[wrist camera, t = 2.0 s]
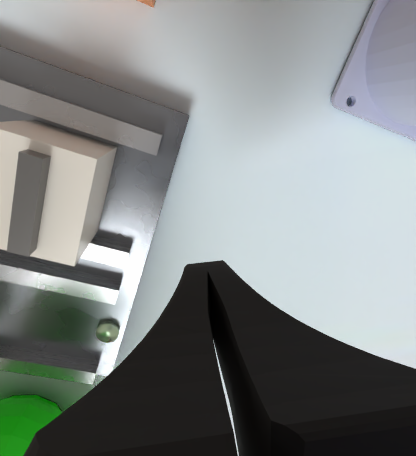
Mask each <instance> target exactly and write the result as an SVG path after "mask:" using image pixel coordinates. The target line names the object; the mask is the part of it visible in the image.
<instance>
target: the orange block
mask: <svg viewBox="0 0 416 456" xmlns="http://www.w3.org/2000/svg"><path fill="white" fill-rule="evenodd" d="M137 1H140V2H142V3H144V4H146V5H149V6H151V7H153V8H154V4H155V0H137Z"/></svg>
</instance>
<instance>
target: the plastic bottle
mask: <svg viewBox="0 0 416 456" xmlns="http://www.w3.org/2000/svg"><path fill="white" fill-rule="evenodd" d="M61 413H62V412H61V410H60V409H59V407H58V406H57V404H56V403H54V402H51V401H49V400H47V399H44V398H42V397H40V396H38V395H13V396H11V397H9V398H5V399H1V400H0V456H23V455H24V453H25V452H26V450H27V448H28V446H29V445H30V443H31V441H32V439H33V437H34V435H35V433H36V432H37V431H39V430H40V429H41V428H43V427H44V426H46V425H47V424H48V423H50V422H51V421H52V420H54V419H55V418H56V417H57V416H59V415H60V414H61Z"/></svg>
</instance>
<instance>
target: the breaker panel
mask: <svg viewBox="0 0 416 456" xmlns="http://www.w3.org/2000/svg"><path fill="white" fill-rule="evenodd" d="M188 118H189V115H186V114H184V113H181V112H178V111H175V110H173V109H170V108H167V107H164V106H162V105H159V104H156V103H153V102H151V101H148V100H145V99H143V98H140V97H137V96H134V95H132V94H129V93H126V92H123V91H121V90H118V89H115V88H112V87H110V86H107V85H104V84H102V83H99V82H96V81H93V80H91V79H88V78H85V77H82V76H80V75H77V74H74V73H71V72H69V71H66V70H63V69H61V68H58V67H55V66H52V65H50V64H47V63H44V62H41V61H39V60H36V59H33V58H30V57H28V56H25V55H22V54H20V53H17V52H14V51H11V50H9V49H6V48H3V47H0V122H6V121H21V120H35V121H38V122H41V123H44V124H48V125H51V126H54V127H57V128H60V129H63V130H66V131H69V132H72V133H75V134H78V135H81V136H84V137H88V138H91V139H94V140H97V141H100V142H103V143H106V144H109V145H112V146H115V147H117V149H116V154H115V158H114V162H113V167H112V171H111V175H110V180H109V184H108V188H107V193H106V197H105V201H104V206H103V210H102V214H101V219H100V223H99V227H98V231H97V233H96V234H95V236H94V237H93V239H92V240H91V242H90V244H89V245H88V247H87V248H86V250H85V251H84V253H83V254H82V256H81V257H80V259H79V260H78V262H77V263H76V265H75V266H70V265H66V264H62V263H58V262H53V261H49V260H45V259H40V258H36V257H32V256H29V257H27V256H23V255H19V254H15V253H10V252H7V251H6V250H2V249H0V370H3V371H9V372H16V373H22V374H29V375H35V376H41V377H48V378H54V379H61V380H67V381H73V382H80V383H86V384H93V382H94V379H95V376H96V375H101V376H108V375H109V374H110V373H111V372H112V370H113V367H114V364H115V360H116V357H117V354H118V351H119V347H120V344H121V341H122V337H123V334H124V331H125V327H126V324H127V321H128V317H129V314H130V311H131V307H132V304H133V301H134V297H135V294H136V291H137V288H138V284H139V281H140V278H141V274H142V271H143V268H144V264H145V261H146V258H147V254H148V251H149V248H150V244H151V241H152V238H153V235H154V231H155V228H156V225H157V221H158V218H159V215H160V211H161V208H162V205H163V201H164V198H165V195H166V191H167V188H168V185H169V181H170V178H171V175H172V172H173V168H174V165H175V162H176V158H177V155H178V152H179V148H180V145H181V142H182V138H183V135H184V132H185V128H186V125H187V122H188Z"/></svg>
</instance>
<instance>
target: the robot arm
mask: <svg viewBox="0 0 416 456" xmlns="http://www.w3.org/2000/svg"><path fill="white" fill-rule="evenodd" d="M349 97H351V99H352V103H351V104H350V106H347V103H346V101H347V99H348V98H349ZM331 103H332V105H333V106H334V107H335V108H337V109H340V110H342V111H345V112H347V113H349V114H352V115H354V116H357V117H359V118H361V119H364V120H366V121H369V122H371V123H373V124H376V125H378V126H381V127H383V128H385V129H388V130H390V131H393V132H395V133H397V134H400V135H402V136H405V137H407V138H409V139H412V140H414V141H416V0H374V2H373V4H372V7H371V9H370V11H369V13H368V16H367V18H366V20H365V22H364V25H363V27H362V29H361V31H360V34H359V36H358V38H357V40H356V43H355V45H354V47H353V49H352V51H351V54H350V56H349V58H348V60H347V63H346V65H345V67H344V69H343V72H342V74H341V76H340V78H339V81H338V83H337V85H336V87H335V90H334V92H333V94H332V97H331ZM213 340H214V343H213ZM214 344H215V348H216V352H217V356H218V360H219V363H220V367H221V371H222V375H223V379H224V383H225V386H226V390H227V394H228V398H229V402H230V407H231V411H232V416H233V422H234V428H235V434H236V440H237V446H238V452H239V456H416V369H414V368H411V367H408V366H405V365H402V364H399V363H396V362H393V361H390V360H387V359H384V358H381V357H378V356H375V355H373V354H370V353H368V352H365V351H363V350H360V349H358V348H355V347H353V346H350V345H348V344H345V343H343V342H341V341H338V340H336V339H334V338H332V337H329V336H327V335H325V334H323V333H321V332H319V331H317V330H315V329H313V328H311V327H309V326H307V325H306V324H304V323H302V322H300V321H298V320H297V319H295V318H293V317H292V316H290V315H288V314H287V313H285V312H284V311H282V310H280V309H279V308H277V307H276V306H274V305H273V304H271V303H270V302H269V301H267V300H266V299H265V298H263V297H262V296H261V295H260V294H258V293H257V292H256V291H255V290H254V289H252V288H251V287H250V286H249V285H248V284H247V283H246V282H244V281H243V280H242V279H241V278H240V277H239V276H238V275H237V274H236V273H235V272H234V271H233V270H232V269H231V268H230V267H229V266H228V265H227V264H226V263H225V262H224V261H223V260H222V261H213V262H204V263H195V264H187V265H186V266H185V267H184V271H183V274H182V277H181V279H180V282H179V284H178V286H177V288H176V290H175V292H174V294H173V296H172V298H171V299H170V301H169V303H168V304H167V306H166V308H165V309H164V311H163V312H162V314H161V316H160V317H159V319H158V320H157V321H156V323H155V324H154V326H153V327H152V328H151V330H150V331H149V332H148V333H147V335H146V336H145V337H144V338H143V340H142V341H141V342H140V343H139V344H138V345H137V346H136V348H135V349H134V350H133V351H132V352H131V353H130V354H129V355H128V356H127V357H126V359H125V360H124V361H123V362H122V363H121V364H120V365H119V366H118V367H117V368H116V369H114V370H113V371H112V372H111V373H110V374H109V375H108V376H107V377H106V378H105V379H103V380H102V381H101V382H100V383H99V384H98V385H97V386H95V387H94V388H93V389H92V390H91V391H90V392H88V393H87V394H86V395H85V396H84V397H82V398H81V399H80V400H78V401H77V402H76V403H74V404H73V405H72V406H71V407H69V408H68V409H67V410H65V411H64V412H63V413H61V414H60V415H59V416H57V417H56V418H55V419H54V420H52V421H51V422H50V423H48V424H47V425H46V426H44V427H43V428H41V429H40V430H39V431H37V432H36V433H35V435H34V437H33V439H32V441H31V443H30V445H29V446H28V448H27V450H26V452H25V453H24V455H23V456H238V455H237V449H236V444H235V438H234V432H233V428H232V424H231V420H230V416H229V412H228V408H227V403H226V399H225V395H224V390H223V386H222V381H221V377H220V372H219V367H218V362H217V358H216V353H215V348H214Z"/></svg>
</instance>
